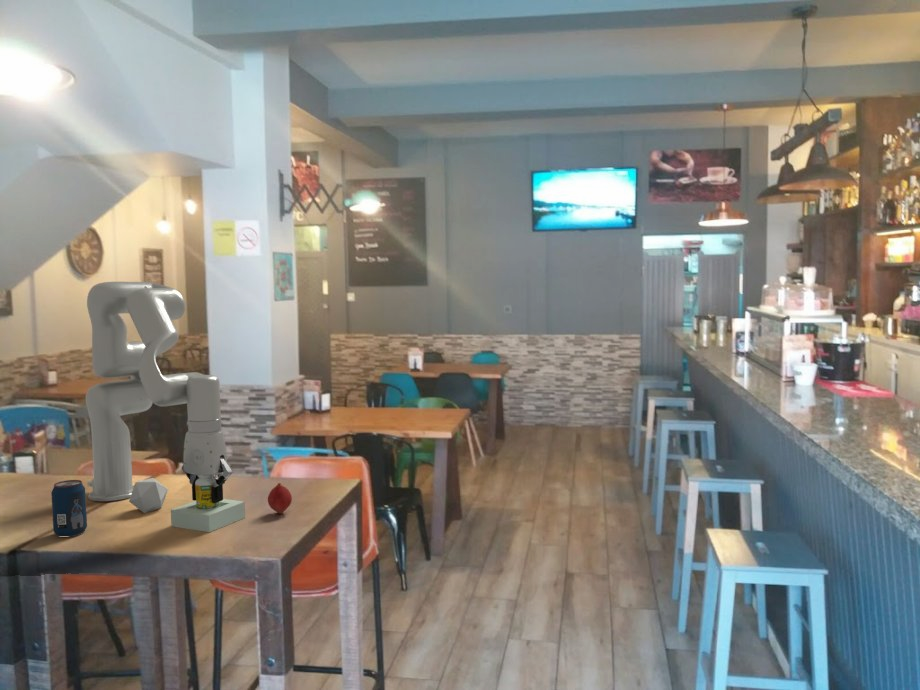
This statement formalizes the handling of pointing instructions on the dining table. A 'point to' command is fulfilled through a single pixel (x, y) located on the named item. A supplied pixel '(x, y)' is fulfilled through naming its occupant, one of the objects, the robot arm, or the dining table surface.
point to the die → (148, 495)
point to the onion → (279, 498)
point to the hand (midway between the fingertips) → (207, 499)
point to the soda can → (69, 508)
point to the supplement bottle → (204, 494)
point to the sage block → (207, 516)
